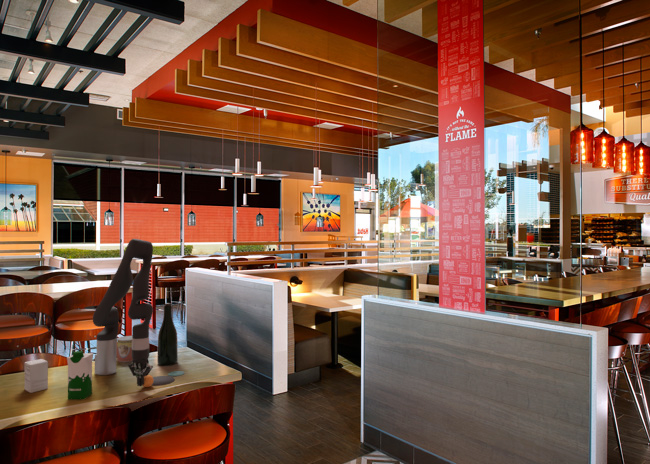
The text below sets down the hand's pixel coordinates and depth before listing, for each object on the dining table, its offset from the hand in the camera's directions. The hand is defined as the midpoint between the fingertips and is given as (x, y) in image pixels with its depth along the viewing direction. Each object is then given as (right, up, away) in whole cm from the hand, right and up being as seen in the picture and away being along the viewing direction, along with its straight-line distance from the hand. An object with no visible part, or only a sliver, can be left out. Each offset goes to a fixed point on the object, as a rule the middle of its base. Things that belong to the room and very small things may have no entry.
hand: (140, 385), depth 207 cm
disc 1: (+4, -2, +12) cm, 13 cm away
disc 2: (+9, -2, +23) cm, 25 cm away
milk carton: (-22, -2, -9) cm, 24 cm away
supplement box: (-47, -2, 0) cm, 47 cm away
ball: (+2, +1, +3) cm, 4 cm away
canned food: (-27, -2, +50) cm, 57 cm away
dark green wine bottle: (-2, -2, +41) cm, 42 cm away
